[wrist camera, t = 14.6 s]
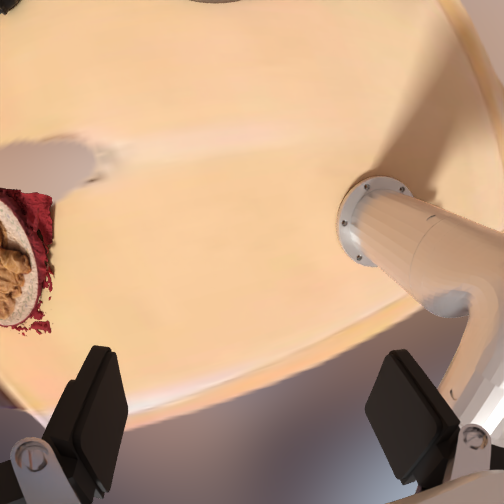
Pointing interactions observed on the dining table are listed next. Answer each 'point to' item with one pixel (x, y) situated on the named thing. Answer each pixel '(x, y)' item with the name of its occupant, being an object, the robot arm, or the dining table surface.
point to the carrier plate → (215, 1)
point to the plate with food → (23, 257)
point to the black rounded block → (7, 5)
